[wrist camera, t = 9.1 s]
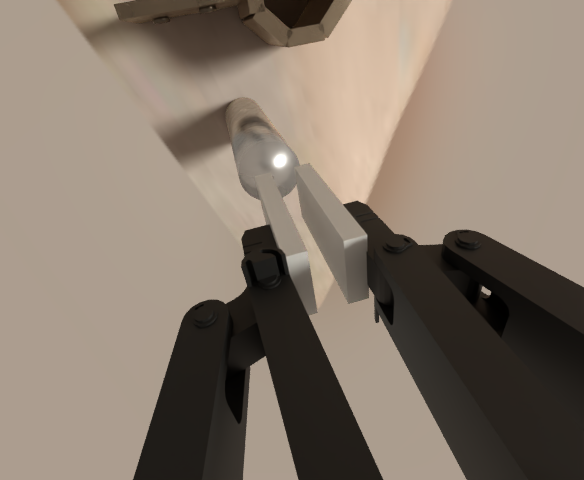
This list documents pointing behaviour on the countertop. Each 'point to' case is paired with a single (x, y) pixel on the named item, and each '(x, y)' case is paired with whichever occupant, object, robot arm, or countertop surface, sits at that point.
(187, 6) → the knuckle and fixed leaf
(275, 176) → the hinge pin
